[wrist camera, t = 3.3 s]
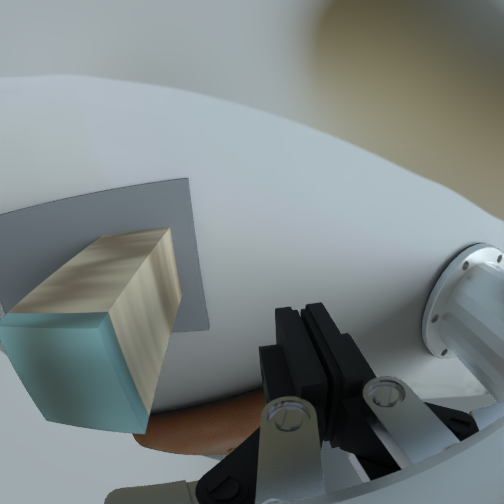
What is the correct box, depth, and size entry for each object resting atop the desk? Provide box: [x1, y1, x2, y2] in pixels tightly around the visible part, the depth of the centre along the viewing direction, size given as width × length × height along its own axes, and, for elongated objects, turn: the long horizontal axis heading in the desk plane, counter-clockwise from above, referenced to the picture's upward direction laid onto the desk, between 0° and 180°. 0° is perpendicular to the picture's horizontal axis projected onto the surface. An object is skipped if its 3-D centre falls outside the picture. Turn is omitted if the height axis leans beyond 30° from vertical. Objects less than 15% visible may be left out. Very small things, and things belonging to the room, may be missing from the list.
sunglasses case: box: [132, 387, 266, 455], centre depth 25 cm, size 18×7×7 cm
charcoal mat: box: [0, 178, 209, 332], centre depth 20 cm, size 20×11×1 cm, turn 94°
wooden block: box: [0, 227, 182, 434], centre depth 14 cm, size 5×5×12 cm
